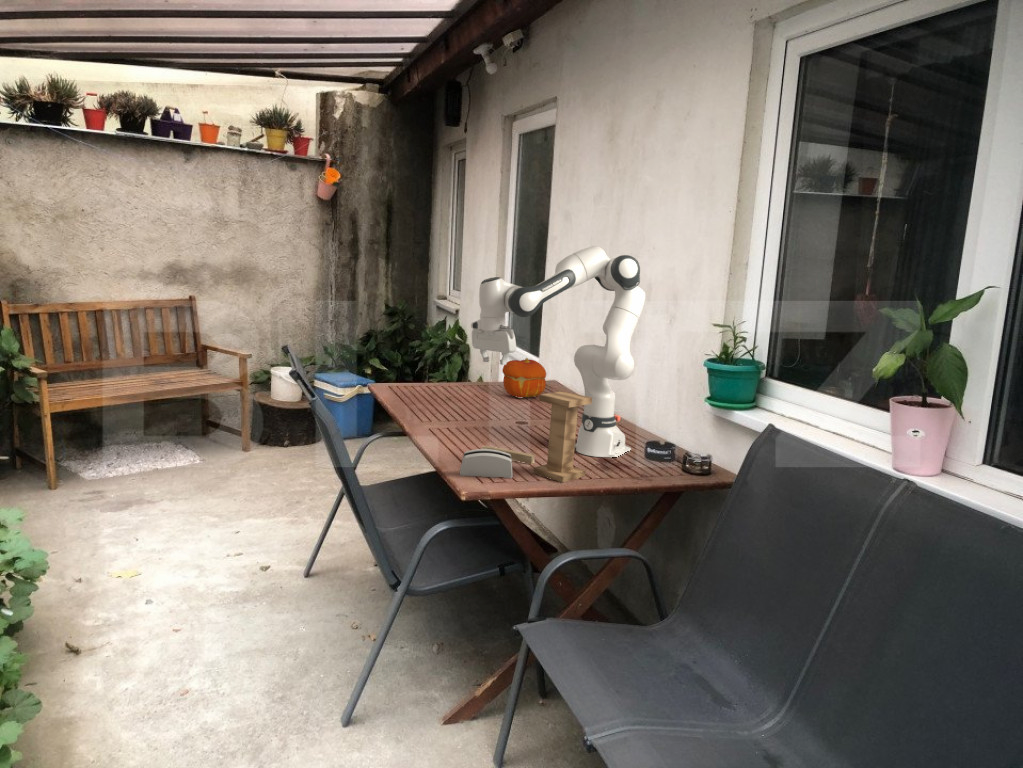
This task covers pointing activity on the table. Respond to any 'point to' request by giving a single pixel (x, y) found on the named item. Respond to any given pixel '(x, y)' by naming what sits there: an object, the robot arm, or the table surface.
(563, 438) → the stand
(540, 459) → the table surface
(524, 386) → the pumpkin
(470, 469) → the grey arched block
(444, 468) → the table surface
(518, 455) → the batten
